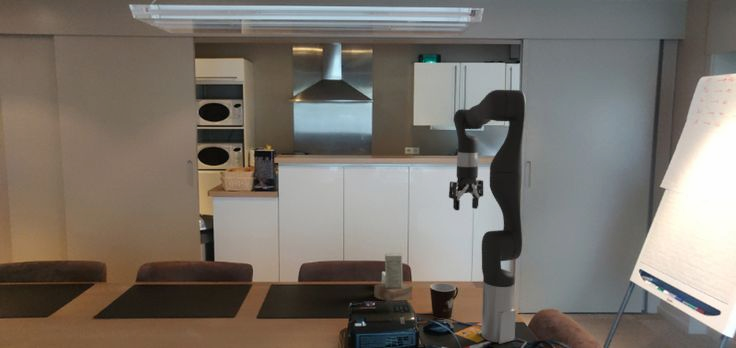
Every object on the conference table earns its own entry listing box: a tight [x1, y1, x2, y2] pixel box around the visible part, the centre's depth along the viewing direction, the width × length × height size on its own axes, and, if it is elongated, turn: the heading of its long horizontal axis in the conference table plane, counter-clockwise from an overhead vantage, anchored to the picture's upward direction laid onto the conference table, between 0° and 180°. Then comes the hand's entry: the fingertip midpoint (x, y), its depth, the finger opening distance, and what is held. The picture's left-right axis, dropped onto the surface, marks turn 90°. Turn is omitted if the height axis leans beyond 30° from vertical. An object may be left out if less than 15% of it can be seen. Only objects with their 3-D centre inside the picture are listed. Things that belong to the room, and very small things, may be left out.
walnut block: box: [373, 282, 413, 301], centre depth 187 cm, size 10×10×5 cm
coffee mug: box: [429, 282, 459, 319], centre depth 170 cm, size 12×9×10 cm
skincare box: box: [384, 252, 403, 288], centre depth 186 cm, size 6×4×12 cm
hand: (465, 209), depth 182 cm, fingers open, 8 cm apart
